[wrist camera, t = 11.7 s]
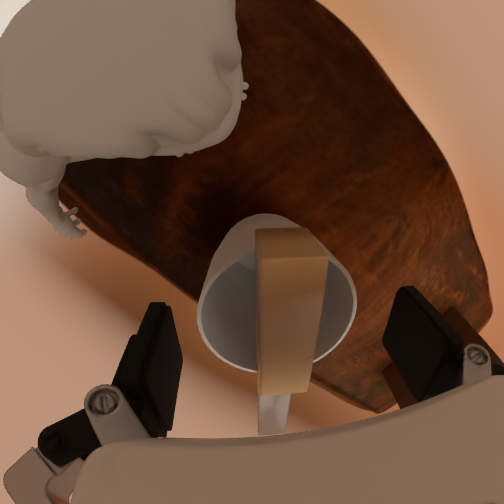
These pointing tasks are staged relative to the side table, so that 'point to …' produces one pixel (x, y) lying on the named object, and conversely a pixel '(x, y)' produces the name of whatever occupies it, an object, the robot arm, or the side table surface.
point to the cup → (244, 303)
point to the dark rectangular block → (469, 337)
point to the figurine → (113, 87)
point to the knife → (286, 317)
